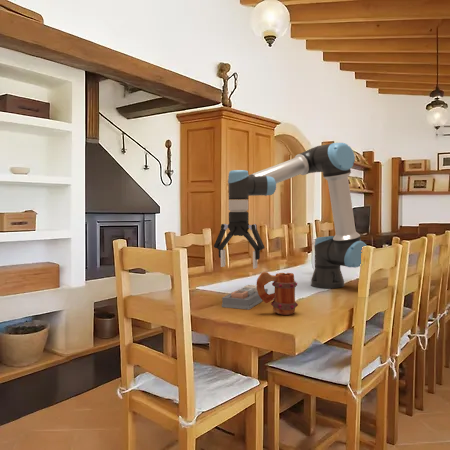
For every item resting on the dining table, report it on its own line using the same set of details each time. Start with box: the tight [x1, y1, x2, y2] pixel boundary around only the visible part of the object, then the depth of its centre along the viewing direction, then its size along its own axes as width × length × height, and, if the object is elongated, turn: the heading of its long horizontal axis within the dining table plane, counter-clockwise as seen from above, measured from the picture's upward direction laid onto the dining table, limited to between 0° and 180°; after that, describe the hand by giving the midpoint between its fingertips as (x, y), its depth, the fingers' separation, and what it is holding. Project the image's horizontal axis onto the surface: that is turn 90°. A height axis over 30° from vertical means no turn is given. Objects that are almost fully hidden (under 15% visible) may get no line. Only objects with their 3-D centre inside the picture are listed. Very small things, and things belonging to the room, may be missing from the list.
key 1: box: [243, 284, 258, 292], centre depth 186 cm, size 5×5×3 cm
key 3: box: [230, 290, 248, 299], centre depth 175 cm, size 5×5×3 cm
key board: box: [221, 286, 268, 310], centre depth 181 cm, size 11×22×4 cm, turn 156°
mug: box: [255, 271, 299, 316], centre depth 162 cm, size 15×8×15 cm, turn 92°
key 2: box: [237, 287, 254, 295], centre depth 181 cm, size 5×5×3 cm
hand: (238, 267), depth 174 cm, fingers open, 12 cm apart
